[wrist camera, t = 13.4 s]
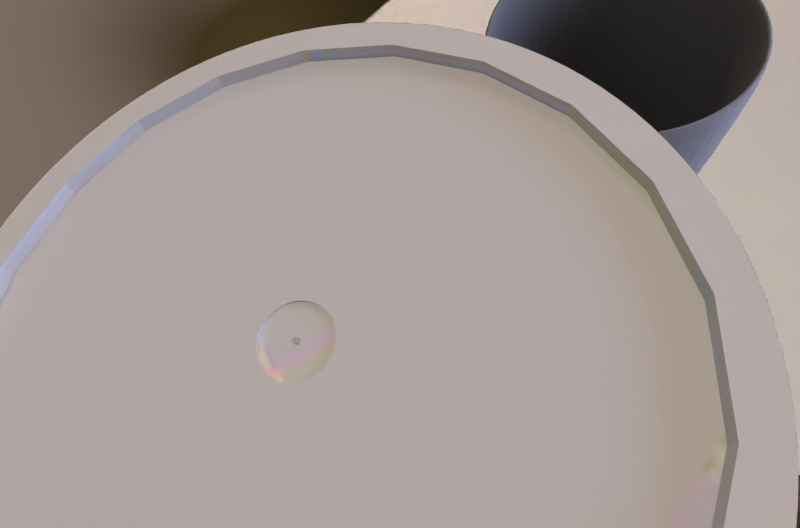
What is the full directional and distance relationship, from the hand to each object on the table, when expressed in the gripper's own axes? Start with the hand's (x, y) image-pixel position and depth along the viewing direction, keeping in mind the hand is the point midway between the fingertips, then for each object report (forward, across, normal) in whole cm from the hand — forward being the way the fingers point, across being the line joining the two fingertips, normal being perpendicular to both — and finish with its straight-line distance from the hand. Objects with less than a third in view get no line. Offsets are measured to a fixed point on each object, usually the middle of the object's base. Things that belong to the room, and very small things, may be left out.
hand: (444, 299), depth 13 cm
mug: (+16, +6, 0) cm, 18 cm away
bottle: (+2, 0, -6) cm, 7 cm away
